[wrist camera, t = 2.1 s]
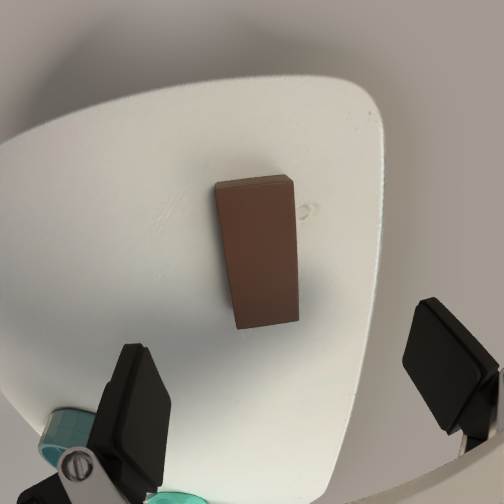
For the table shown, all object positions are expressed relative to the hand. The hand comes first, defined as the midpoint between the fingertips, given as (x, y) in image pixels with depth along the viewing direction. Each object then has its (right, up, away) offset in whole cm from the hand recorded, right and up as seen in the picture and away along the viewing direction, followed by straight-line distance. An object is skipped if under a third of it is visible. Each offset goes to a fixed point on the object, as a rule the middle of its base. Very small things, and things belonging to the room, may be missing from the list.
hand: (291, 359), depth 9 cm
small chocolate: (-1, +4, +7) cm, 8 cm away
